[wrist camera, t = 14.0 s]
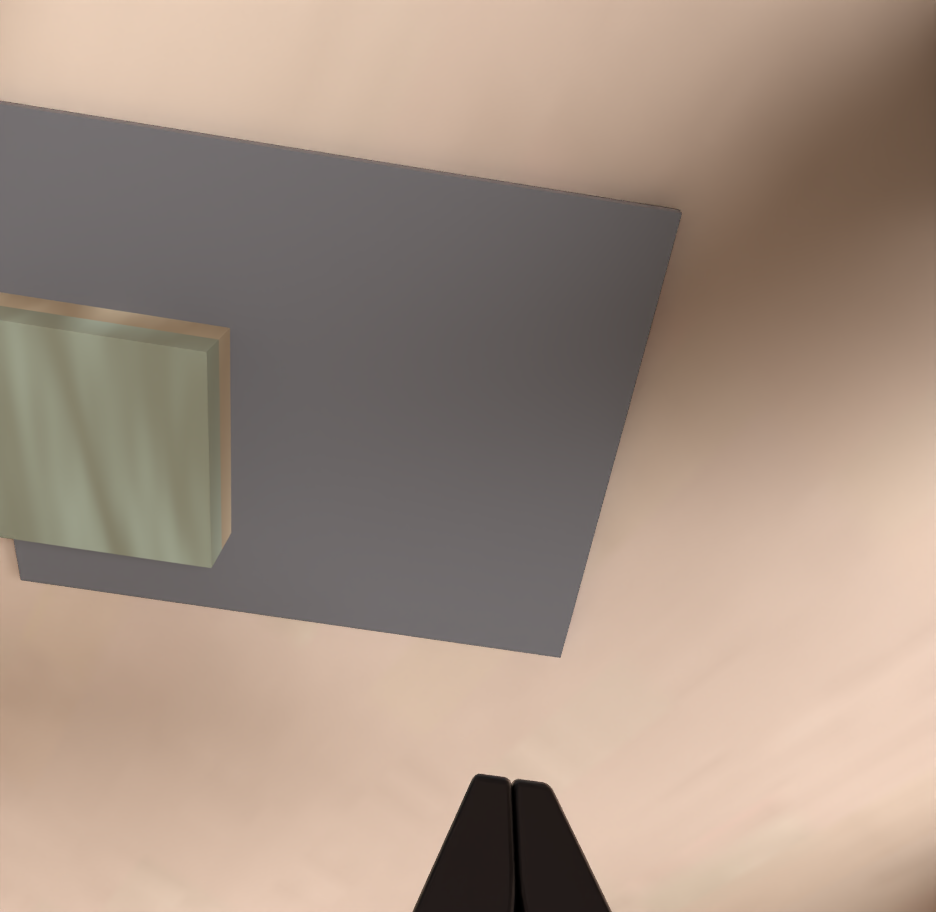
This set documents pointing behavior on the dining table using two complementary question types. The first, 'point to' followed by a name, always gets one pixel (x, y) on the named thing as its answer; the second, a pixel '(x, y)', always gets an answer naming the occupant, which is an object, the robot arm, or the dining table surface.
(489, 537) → the mat
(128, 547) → the tile
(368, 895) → the dining table surface
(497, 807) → the robot arm
